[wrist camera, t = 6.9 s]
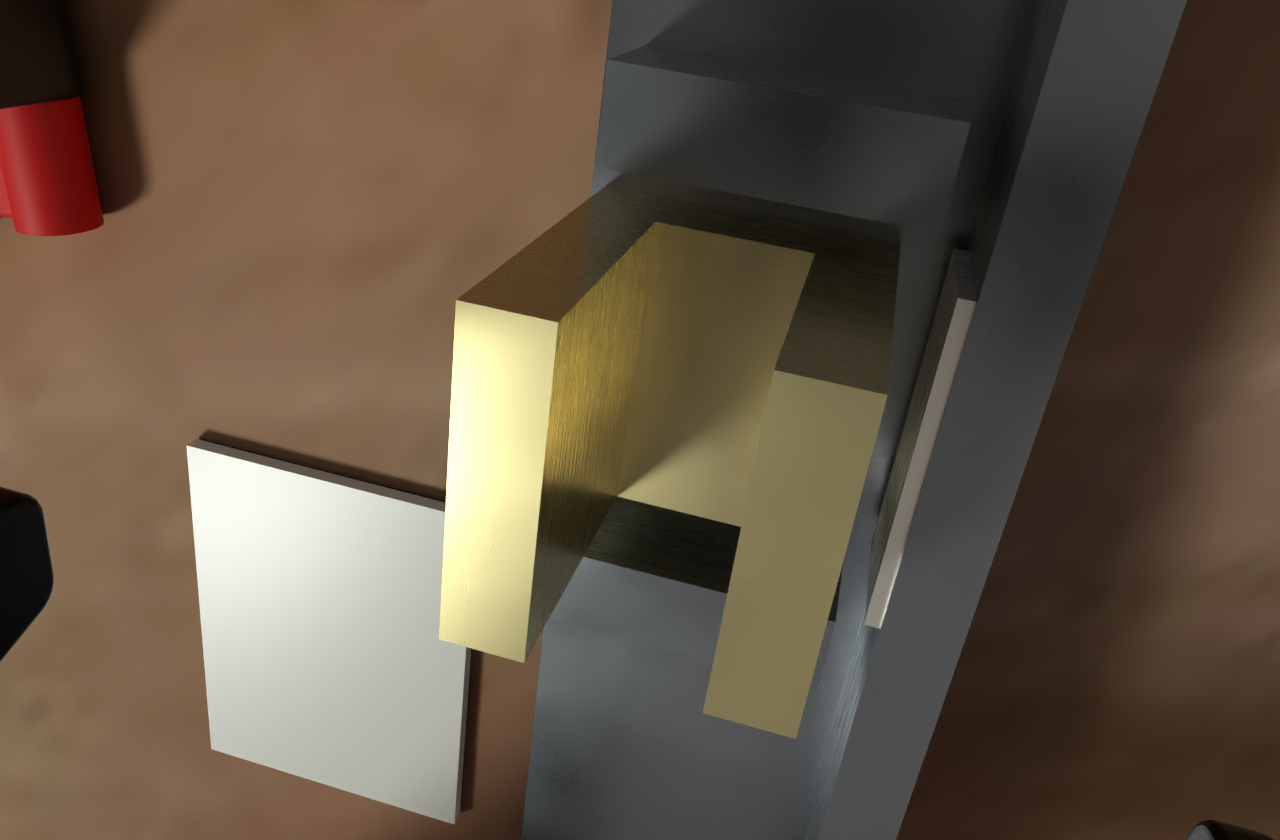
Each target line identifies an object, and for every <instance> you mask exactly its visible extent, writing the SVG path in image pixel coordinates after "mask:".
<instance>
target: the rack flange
mask: <svg viewBox="0 0 1280 840" xmlns="http://www.w3.org/2000/svg"><path fill="white" fill-rule="evenodd" d="M1186 2H1187V0H613V1H612V10H611V19H610V28H609V37H608V46H607V55H606V64H605V74H604V83H603V92H602V101H601V110H600V119H599V128H598V138H597V147H596V156H595V165H594V174H593V183H592V192H591V197H592V196H593V195H594V194H596V193H597V192H598V191H600V190H601V189H602V188H603V187H605V186H607V187H612V188H617V189H622V190H627V191H632V192H637V193H642V194H648V195H653V196H658V197H663V198H668V199H673V200H678V201H683V202H688V203H694V204H699V205H704V206H709V207H714V208H719V209H724V210H729V211H735V212H740V213H745V214H750V215H755V216H760V217H765V218H770V219H776V220H781V221H786V222H791V223H796V224H801V225H806V226H811V227H816V228H822V229H827V230H832V231H837V232H842V233H847V234H852V235H857V236H863V237H868V238H873V239H878V240H883V241H888V242H893V243H898V244H901V247H900V258H899V270H898V281H897V293H896V305H895V316H894V328H893V339H892V351H891V363H890V374H889V386H888V396H887V399H886V403H885V407H884V411H883V414H882V418H881V422H880V426H879V430H878V433H877V437H876V441H875V445H874V448H873V452H872V456H871V460H870V463H869V467H868V471H867V475H866V478H865V482H864V486H863V490H862V493H861V497H860V501H859V505H858V508H857V512H856V516H855V520H854V523H853V527H852V531H851V535H850V538H849V542H848V546H847V550H846V553H845V557H844V561H843V565H842V568H841V572H840V576H839V580H838V583H837V587H836V591H835V595H834V598H833V602H832V606H831V610H830V613H829V617H828V621H827V625H826V628H825V632H824V636H823V640H822V643H821V647H820V651H819V655H818V658H817V662H816V666H815V670H814V673H813V677H812V681H811V685H810V688H809V692H808V696H807V700H806V704H805V707H804V711H803V715H802V719H801V722H800V726H799V730H798V734H797V737H796V739H794V738H790V737H787V736H783V735H779V734H776V733H772V732H769V731H765V730H761V729H758V728H754V727H751V726H747V725H744V724H740V723H736V722H733V721H729V720H726V719H722V718H719V717H715V716H711V715H708V714H704V713H703V709H704V704H705V699H706V694H707V690H708V685H709V680H710V675H711V670H712V665H713V661H714V656H715V651H716V646H717V641H718V637H719V632H720V627H721V622H722V617H723V612H724V608H725V603H726V598H727V593H728V588H729V584H730V579H731V574H732V569H733V564H734V559H735V555H736V550H737V545H738V540H739V535H740V531H741V527H739V526H735V525H731V524H727V523H723V522H719V521H715V520H711V519H707V518H703V517H699V516H695V515H691V514H687V513H683V512H679V511H674V510H670V509H666V508H662V507H658V506H654V505H650V504H646V503H642V502H638V501H634V500H630V499H626V498H622V497H618V496H617V497H616V499H615V501H614V503H613V505H612V506H611V508H610V510H609V512H608V514H607V515H606V517H605V519H604V521H603V523H602V524H601V526H600V528H599V530H598V532H597V533H596V535H595V537H594V539H593V541H592V542H591V544H590V546H589V548H588V549H587V551H586V553H585V555H584V557H583V558H582V560H581V562H580V564H579V566H578V567H577V569H576V571H575V573H574V575H573V576H572V578H571V580H570V582H569V584H568V585H567V587H566V589H565V591H564V593H563V594H562V596H561V598H560V600H559V602H558V603H557V605H556V607H555V609H554V610H553V612H552V614H551V616H550V618H549V619H548V621H547V623H546V625H545V627H544V631H543V640H542V650H541V659H540V668H539V677H538V686H537V695H536V704H535V714H534V723H533V732H532V741H531V750H530V759H529V768H528V777H527V787H526V796H525V805H524V814H523V823H522V832H521V840H896V838H897V835H898V833H899V830H900V827H901V824H902V821H903V818H904V815H905V812H906V810H907V807H908V804H909V801H910V798H911V795H912V792H913V789H914V786H915V784H916V781H917V778H918V775H919V772H920V769H921V766H922V763H923V761H924V758H925V755H926V752H927V749H928V746H929V743H930V740H931V737H932V735H933V732H934V729H935V726H936V723H937V720H938V717H939V714H940V712H941V709H942V706H943V703H944V700H945V697H946V694H947V691H948V688H949V686H950V683H951V680H952V677H953V674H954V671H955V668H956V665H957V663H958V660H959V657H960V654H961V651H962V648H963V645H964V642H965V639H966V637H967V634H968V631H969V628H970V625H971V622H972V619H973V616H974V614H975V611H976V608H977V605H978V602H979V599H980V596H981V593H982V590H983V588H984V585H985V582H986V579H987V576H988V573H989V570H990V567H991V565H992V562H993V559H994V556H995V553H996V550H997V547H998V544H999V541H1000V539H1001V536H1002V533H1003V530H1004V527H1005V524H1006V521H1007V518H1008V516H1009V513H1010V510H1011V507H1012V504H1013V501H1014V498H1015V495H1016V492H1017V490H1018V487H1019V484H1020V481H1021V478H1022V475H1023V472H1024V469H1025V467H1026V464H1027V461H1028V458H1029V455H1030V452H1031V449H1032V446H1033V443H1034V441H1035V438H1036V435H1037V432H1038V429H1039V426H1040V423H1041V420H1042V418H1043V415H1044V412H1045V409H1046V406H1047V403H1048V400H1049V397H1050V394H1051V392H1052V389H1053V386H1054V383H1055V380H1056V377H1057V374H1058V371H1059V369H1060V366H1061V363H1062V360H1063V357H1064V354H1065V351H1066V348H1067V345H1068V343H1069V340H1070V337H1071V334H1072V331H1073V328H1074V325H1075V322H1076V320H1077V317H1078V314H1079V311H1080V308H1081V305H1082V302H1083V299H1084V296H1085V294H1086V291H1087V288H1088V285H1089V282H1090V279H1091V276H1092V273H1093V271H1094V268H1095V265H1096V262H1097V259H1098V256H1099V253H1100V250H1101V247H1102V245H1103V242H1104V239H1105V236H1106V233H1107V230H1108V227H1109V224H1110V222H1111V219H1112V216H1113V213H1114V210H1115V207H1116V204H1117V201H1118V198H1119V196H1120V193H1121V190H1122V187H1123V184H1124V181H1125V178H1126V175H1127V173H1128V170H1129V167H1130V164H1131V161H1132V158H1133V155H1134V152H1135V149H1136V147H1137V144H1138V141H1139V138H1140V135H1141V132H1142V129H1143V126H1144V124H1145V121H1146V118H1147V115H1148V112H1149V109H1150V106H1151V103H1152V100H1153V98H1154V95H1155V92H1156V89H1157V86H1158V83H1159V80H1160V77H1161V75H1162V72H1163V69H1164V66H1165V63H1166V60H1167V57H1168V54H1169V51H1170V49H1171V46H1172V43H1173V40H1174V37H1175V34H1176V31H1177V28H1178V26H1179V23H1180V20H1181V17H1182V14H1183V11H1184V8H1185V5H1186Z"/></svg>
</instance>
